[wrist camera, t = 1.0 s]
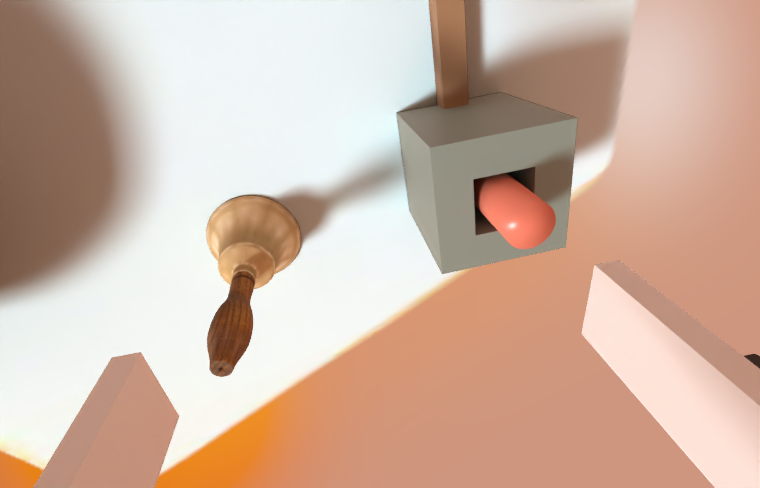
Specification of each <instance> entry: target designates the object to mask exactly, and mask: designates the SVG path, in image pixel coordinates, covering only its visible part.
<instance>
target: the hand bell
mask: <svg viewBox="0 0 760 488" xmlns="http://www.w3.org/2000/svg"><path fill="white" fill-rule="evenodd" d="M206 237H207V243H208V246H209V249H210V251H211V253H212V254H213V256H214V257H215V259H216V260H217V261H218V269H219V272H220V275H221V276H222V278H223V279H224V280H225V281H226V282H227V283H228V284H230V285H231V286H230V291H229V295H228V298H227V300H226V301H225V302H224V303H223V304H222V305H221V306H220V308H219V309H218V311H217V312H216V314H215V316H214V318H213V320H212V323H211V325H210V329H209V332H208V337H207V347H208V353H209V358H210V371H211V372H212V374H214V375H216V376H220V377H223V376H228V375H230V374H231V373H232V371H233V369H234V367H235V365H236V364H237V362H238V361H239V359H240V358H241V357H242V355H243V354H244V352H245V351H246V349H247V347H248V345H249V342H250V339H251V335H252V329H253V314H252V310H251V306H250V299H251V296H252V292H253V289H256V288H260V287H262V286H264V285H265V284H267V283H268V282H269V281H270V280H271V279H272V277H273V275H274V274H276V273H278V272H280V271H282V270H283V269H285V268H286V267H287V266H289V265H290V264H291V263H292V262H293V260H294V259H295V257H296V256H297V254H298V251H299V248H300V244H301V234H300V230H299V226H298V224H297V222H296V220H295V218H294V217H293V216H292V214H291V213H290V212H289V211H288V210H287V209H286V208H284V207H283V206H282V205H280V204H279V203H277V202H275V201H273V200H270V199H268V198H264V197H260V196H241V197H237V198H234V199H231V200H229V201H227V202H225V203H223V204H222V205H220V206H219V207H218V208H217V209H216V210H215V211H214V212H213V214H212V215H211V217H210V219H209V222H208V225H207V230H206Z"/></svg>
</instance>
